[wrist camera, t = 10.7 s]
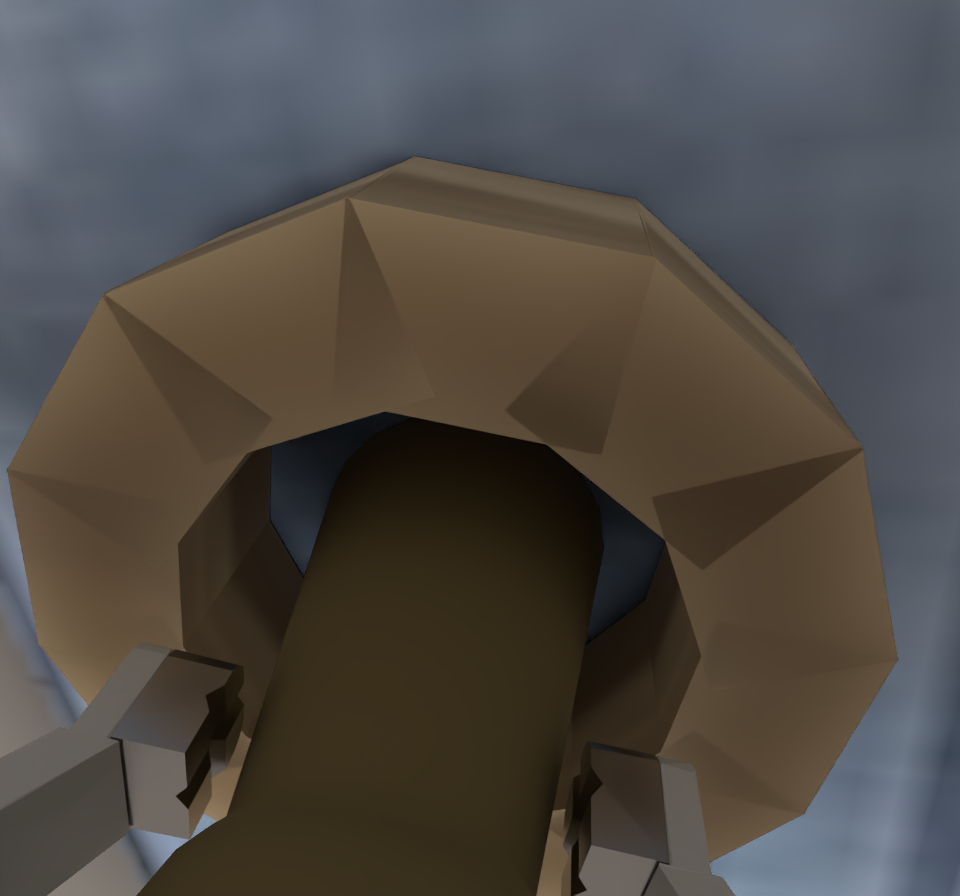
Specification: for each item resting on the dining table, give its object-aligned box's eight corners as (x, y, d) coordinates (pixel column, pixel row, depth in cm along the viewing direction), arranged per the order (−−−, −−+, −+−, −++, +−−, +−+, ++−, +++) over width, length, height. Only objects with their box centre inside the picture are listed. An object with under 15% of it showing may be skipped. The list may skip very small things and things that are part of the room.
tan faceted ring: (121, 99, 13) (-58, 117, 9) (945, 257, 12) (1092, 341, 9) (163, 679, 19) (69, 816, 16) (689, 796, 19) (713, 965, 15)
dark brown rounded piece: (305, 595, 17) (-45, 1269, 8) (360, 372, 14) (-96, 1011, 5) (547, 674, 18) (497, 1429, 8) (650, 469, 15) (768, 1273, 5)
